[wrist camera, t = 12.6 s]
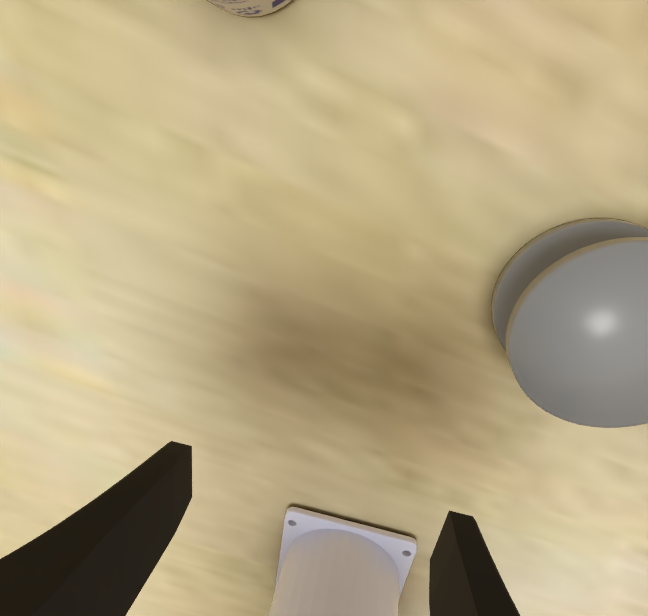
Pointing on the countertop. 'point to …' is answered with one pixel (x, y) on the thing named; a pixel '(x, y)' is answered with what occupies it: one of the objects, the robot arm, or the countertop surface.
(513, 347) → the grey yo-yo
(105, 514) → the robot arm
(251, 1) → the energy drink
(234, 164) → the countertop surface
